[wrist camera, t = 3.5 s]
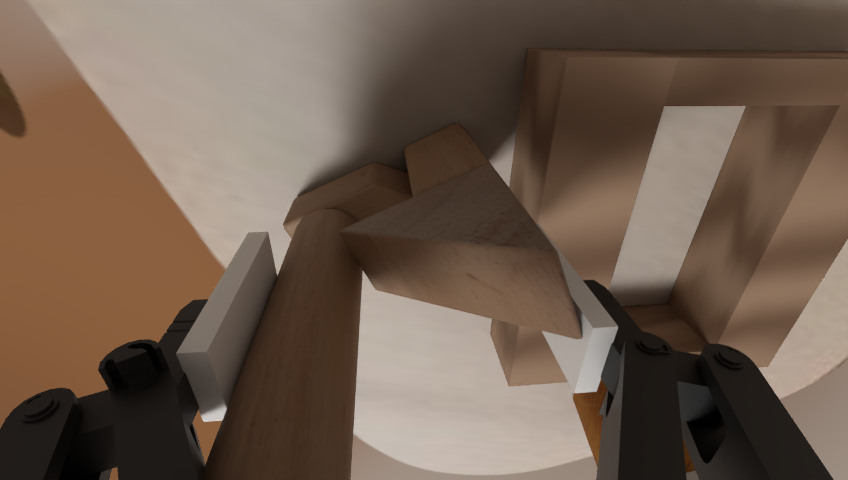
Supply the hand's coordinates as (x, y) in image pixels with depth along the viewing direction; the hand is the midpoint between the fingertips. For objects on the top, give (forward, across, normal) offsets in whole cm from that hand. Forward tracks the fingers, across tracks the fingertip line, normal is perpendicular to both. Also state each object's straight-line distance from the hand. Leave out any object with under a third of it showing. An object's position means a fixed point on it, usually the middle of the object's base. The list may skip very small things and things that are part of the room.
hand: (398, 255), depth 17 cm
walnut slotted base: (+8, +17, -2) cm, 19 cm away
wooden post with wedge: (+8, 0, 0) cm, 8 cm away
